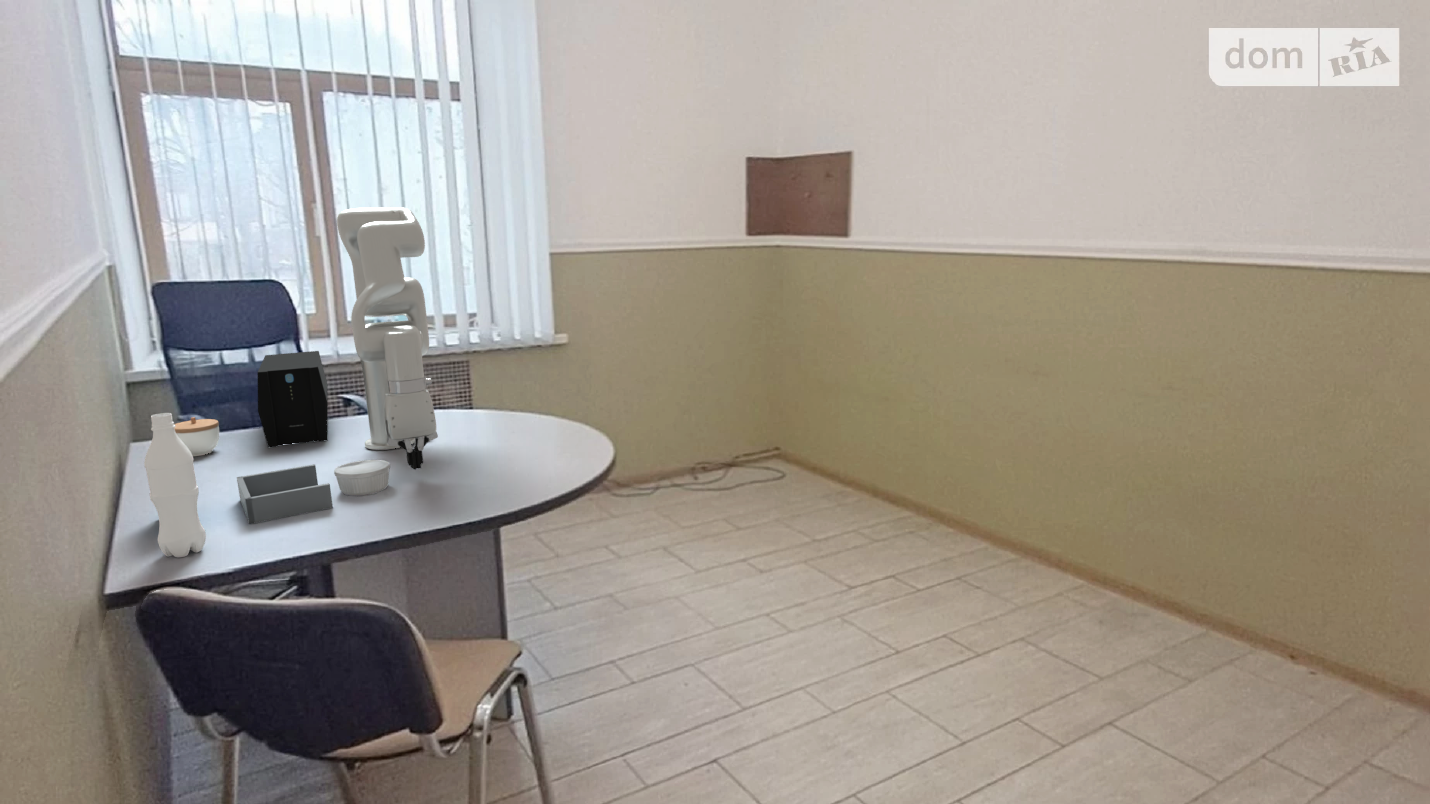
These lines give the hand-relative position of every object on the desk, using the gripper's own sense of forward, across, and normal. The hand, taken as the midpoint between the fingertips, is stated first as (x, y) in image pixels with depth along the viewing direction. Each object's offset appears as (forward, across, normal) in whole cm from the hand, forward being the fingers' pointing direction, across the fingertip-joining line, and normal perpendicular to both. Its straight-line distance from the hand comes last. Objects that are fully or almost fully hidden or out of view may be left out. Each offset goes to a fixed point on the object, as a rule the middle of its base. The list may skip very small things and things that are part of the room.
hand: (415, 467), depth 187 cm
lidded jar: (+2, +39, -60) cm, 71 cm away
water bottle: (+3, +45, +18) cm, 48 cm away
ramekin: (+3, +11, 0) cm, 11 cm away
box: (+3, +26, 0) cm, 26 cm away
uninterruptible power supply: (+2, +14, -70) cm, 71 cm away
